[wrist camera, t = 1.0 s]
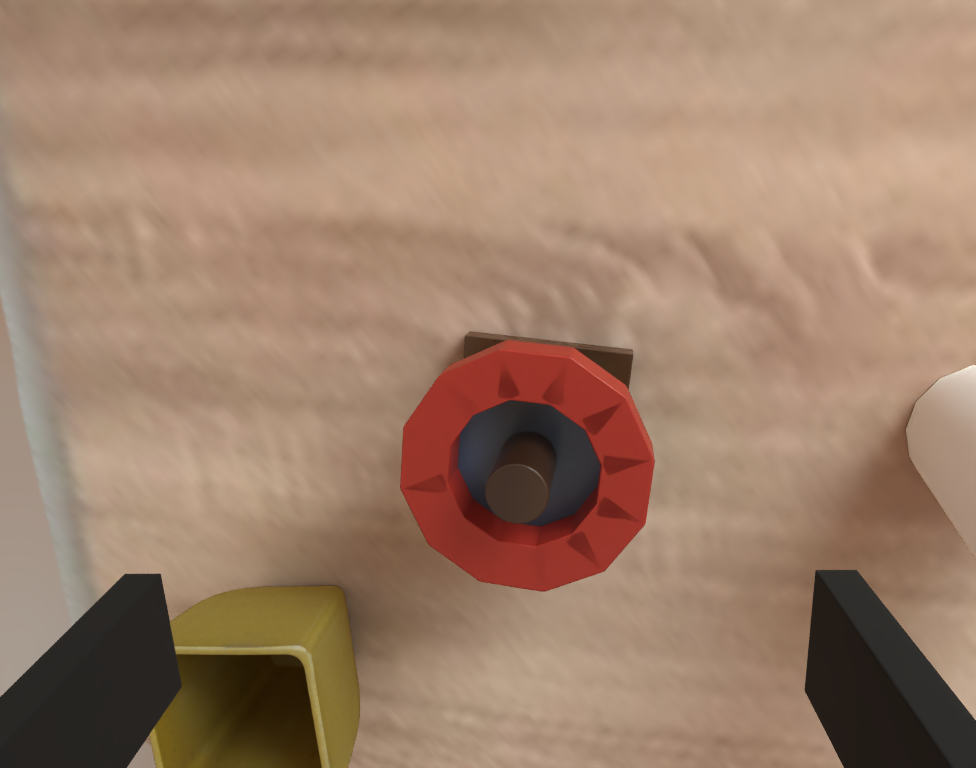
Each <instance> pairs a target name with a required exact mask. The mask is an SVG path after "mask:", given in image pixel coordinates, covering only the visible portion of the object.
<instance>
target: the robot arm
mask: <svg viewBox="0 0 976 768" xmlns="http://www.w3.org/2000/svg"><path fill="white" fill-rule="evenodd" d="M181 687H182V683H181V678H180V673H179V667H178V662H177V657H176V652H175V646H174V641H173V636H172V631H171V626H170V620H169V615H168V610H167V605H166V599H165V594H164V589H163V584H162V579H161V574H125V575H124V576H122V577H121V578H120V579H119V580H118V581H117V582H116V583H115V584H114V585H113V586H112V587H111V588H110V589H109V590H108V591H107V592H106V593H105V594H104V595H103V596H102V597H101V598H100V599H99V600H98V601H97V602H96V603H95V604H94V605H93V606H92V607H91V608H90V609H89V610H88V611H87V612H86V613H85V614H84V615H83V616H82V617H81V618H80V619H79V620H78V621H77V622H76V623H75V624H74V625H73V626H72V627H71V628H70V629H69V630H68V631H67V632H66V633H65V634H64V635H63V636H62V637H61V638H60V639H59V640H58V641H57V642H56V643H55V644H54V645H53V646H52V647H51V648H50V649H49V650H48V651H47V652H46V653H44V654H43V655H42V656H41V657H40V658H39V660H38V661H36V662H35V663H34V665H33V666H31V667H30V668H29V669H28V670H27V671H26V672H25V673H24V674H23V675H22V676H21V677H20V678H19V679H18V680H17V681H16V682H15V683H14V684H13V685H12V686H11V687H10V688H9V689H8V690H7V691H6V692H5V693H4V694H3V695H2V696H1V697H0V768H127V766H128V765H129V763H130V762H131V760H132V759H133V758H134V756H135V755H136V753H137V752H138V750H139V749H140V747H141V746H142V744H143V743H144V742H145V740H146V739H147V737H148V736H149V734H150V733H151V731H152V730H153V728H154V727H155V725H156V724H157V723H158V721H159V720H160V718H161V717H162V715H163V714H164V712H165V711H166V709H167V708H168V706H169V705H170V704H171V702H172V701H173V699H174V698H175V696H176V695H177V693H178V692H179V690H180V689H181ZM805 692H806V694H807V696H808V698H809V700H810V702H811V704H812V706H813V708H814V710H815V712H816V714H817V716H818V718H819V719H820V721H821V723H822V725H823V727H824V729H825V731H826V733H827V735H828V737H829V739H830V741H831V743H832V745H833V747H834V749H835V751H836V753H837V755H838V757H839V759H840V761H841V763H842V765H843V767H844V768H976V720H975V719H974V718H973V716H972V715H971V714H970V713H969V711H968V710H967V709H966V708H965V706H964V705H963V704H962V703H961V701H960V700H959V699H958V698H957V696H956V695H955V694H954V692H953V691H952V690H951V689H950V687H949V686H948V685H947V684H946V682H945V681H944V680H943V679H942V677H941V676H940V675H939V674H938V672H937V671H936V670H935V668H934V667H933V666H932V665H931V663H930V662H929V661H928V660H927V658H926V657H925V656H924V655H923V653H922V652H921V651H920V649H919V648H918V647H917V646H916V644H915V643H914V642H913V641H912V639H911V638H910V637H909V636H908V634H907V633H906V632H905V631H904V629H903V628H902V627H901V625H900V624H899V623H898V622H897V620H896V619H895V618H894V617H893V615H892V614H891V613H890V612H889V610H888V609H887V608H886V607H885V605H884V604H883V603H882V601H881V600H880V599H879V598H878V596H877V595H876V594H875V593H874V591H873V590H872V589H871V588H870V586H869V585H868V584H867V583H866V581H865V580H864V579H863V577H862V576H861V575H860V574H859V572H858V571H857V570H816V571H815V582H814V593H813V604H812V615H811V626H810V637H809V648H808V659H807V670H806V681H805Z"/></svg>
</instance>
